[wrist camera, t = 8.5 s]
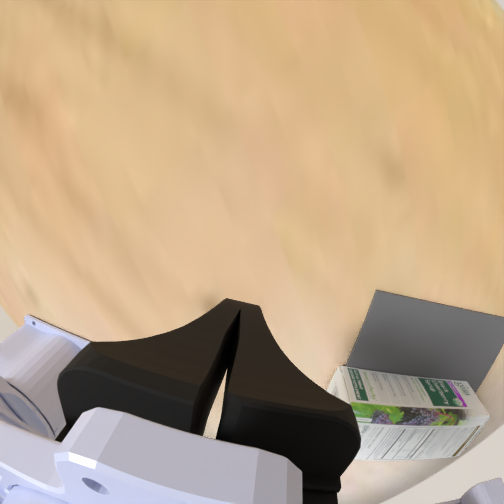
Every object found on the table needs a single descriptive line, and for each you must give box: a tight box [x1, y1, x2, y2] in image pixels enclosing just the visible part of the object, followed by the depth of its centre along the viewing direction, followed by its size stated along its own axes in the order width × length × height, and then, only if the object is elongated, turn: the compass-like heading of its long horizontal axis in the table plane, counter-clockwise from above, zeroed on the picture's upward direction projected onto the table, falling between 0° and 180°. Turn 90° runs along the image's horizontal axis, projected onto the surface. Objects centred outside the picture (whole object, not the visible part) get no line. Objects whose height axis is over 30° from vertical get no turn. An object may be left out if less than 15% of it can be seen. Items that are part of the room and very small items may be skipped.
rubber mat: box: [345, 290, 504, 393], centre depth 23 cm, size 16×14×1 cm
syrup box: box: [326, 366, 490, 461], centre depth 21 cm, size 6×6×14 cm
